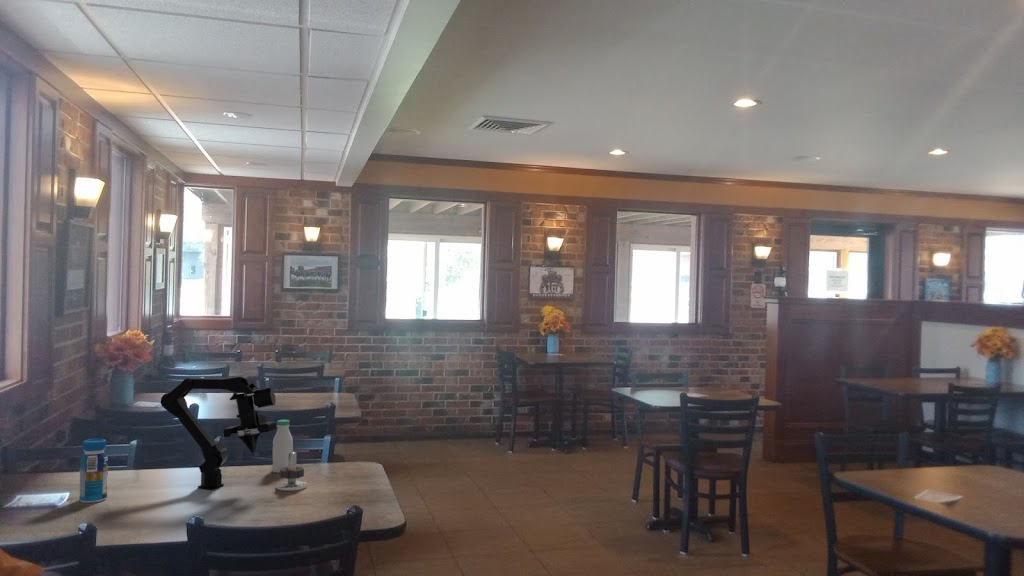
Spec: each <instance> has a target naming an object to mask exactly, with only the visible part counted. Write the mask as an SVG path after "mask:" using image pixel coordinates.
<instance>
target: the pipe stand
mask: <svg viewBox="0 0 1024 576" xmlns="http://www.w3.org/2000/svg"><path fill="white" fill-rule="evenodd" d="M296 466H297V451H293V452H289V453H288V470H296ZM306 487H308V482H306V481H303V480H297V478H294V479H287V480H285V481H279V482H278V483H276V484H275V490H277V491H280V492H297V491H298V492H299V491H303V490H305V489H307V488H306ZM302 489H303V490H302Z"/></svg>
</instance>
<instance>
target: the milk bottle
mask: <svg viewBox="0 0 1024 576" xmlns="http://www.w3.org/2000/svg"><path fill="white" fill-rule="evenodd" d="M276 422H277V424H276V427H277V428H276V429H277V430H276V433H275V435H274V436H273V440H272V451H271V452H272V453H271V455H272V456H271V457H272V458H271V460H272V462H271V470H272V473H275V474H276V473H277V474H280V469H281V468H284V467H288V453H289V452H294V444H293V443H294V442H293V436H292V434H291V431H290V420H289V419H279V420H277V421H276Z"/></svg>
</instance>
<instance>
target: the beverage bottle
mask: <svg viewBox="0 0 1024 576" xmlns="http://www.w3.org/2000/svg"><path fill="white" fill-rule="evenodd" d="M106 448H107V440H106V439H104V438H91V439H86V440H84V441H83V442H82V451H83V452H84V453H83V454H82V456H81V458H80V459H79V460H80V461H79V463H80V467H79V497H78V499H79V502H80V503H83V504H92V503H94V504H95V503H100V502H102V501H105V500H106V499H107V497H108V473H109V465H108V461H109V457H108V455H107V453H106V452H105V451H106V450H107V449H106Z"/></svg>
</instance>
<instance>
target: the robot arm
mask: <svg viewBox="0 0 1024 576" xmlns="http://www.w3.org/2000/svg"><path fill="white" fill-rule="evenodd" d="M252 381H253V380H252V379H251V377H250V376H249V375H246V374H242V375H235V376H231V377H192V376H191V377H187V378H185V379H183V380H182V381H181V382H180V384H178V385H177V386H176V387H174V388H173V389H171V391H169V392H166V393H164V394H163V395H162V396H161V398H160V405H161V407H162V408H163V409H165V410H166V411H167V412H168V413H169V414H171V415H172V416H174V417H175V418H177V419H178V421H179V422H180V423H181V424H182V426H183V427H184V428H185V429H186V431H187V432H188V434H189V435H190V436H191V437H192V439H193V440H194V441H195V443H196V444H197V445H198V446H199V447H200V449H201V453H202V456H203V458H204V462H203V463H201V465H199V466H198V467H199V472H200V474H201V475H200V485H198V486H197V488H198V489H203V490H215V489H218V488H220V487H223V486H225V484H224V483H222V481H223V480H222V479H223V478H222V477H223V474H222V469H220V468H222V466H223V465H224V463H225V462H226V461H227V459H228V456H229V454H228V448H226V447H225V446H224V445H223V443H222V441H221V440H219V441H218V442H216V441H214V440H213V439H212V438H211V437H210V435H209V434H208V432H206V430H205V429H204V428H203V427H202V425H201V424H200V423H199V421H198V420H197V418H196V417H195V416H194V415H193V414H192V412H191V411H190V410H189V406H188V403H187V400H186V399H185V397H186V396H187V395H189V393H190V392H191V391H192V390H225V391H227V392H232V393H233V394H232V395H231V397H230V398H229V400H230V401H234V400H235V401H236V406H237V407H236V408H237V413H238V414H236V418H237V419H239V425H231V426H229V427H226V428H224V429H223V430H222V434H223V438H227V437H232V435H233V434H238V436H237V438H238V439H240V440H241V441H242V442H243V443H244V445H246V447H247V448H248V449H249V451H250V453H252V454H254V453H255V452H256V449H257V444H258V439H259V437H260V435H261V434H262V433H269V432H271V431H273V430H276V429H277V424H276V422H275V421H273V420H272V421H267V415H263V414H259V411H258V410H257V409H255V407H257V408H258V409H260V408H261V409H262V408H266V407H272V406H275V405H276V401H277V400H276V399H277V398H276V394H275V392H274V390H273V388H272V386H269V387H265V388H258V386H257V385H256V384H255V383H253V382H252Z"/></svg>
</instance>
